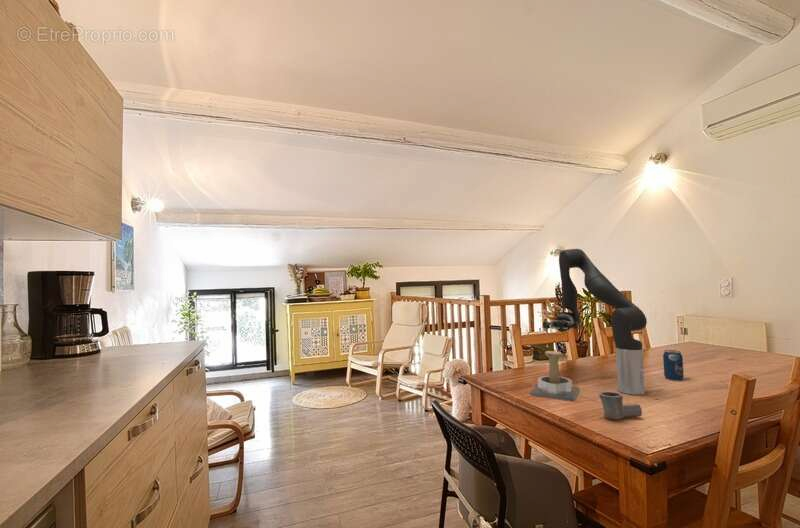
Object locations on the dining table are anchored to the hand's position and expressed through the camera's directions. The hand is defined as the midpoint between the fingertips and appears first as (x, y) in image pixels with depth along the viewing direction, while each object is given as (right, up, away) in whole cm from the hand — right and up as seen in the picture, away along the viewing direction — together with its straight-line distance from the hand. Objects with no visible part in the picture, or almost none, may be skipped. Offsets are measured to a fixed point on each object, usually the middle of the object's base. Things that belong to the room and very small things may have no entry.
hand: (557, 326), depth 163 cm
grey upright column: (-6, -24, -11) cm, 27 cm away
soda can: (+52, -24, +3) cm, 57 cm away
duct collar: (-6, -25, -11) cm, 28 cm away
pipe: (+4, -24, -39) cm, 46 cm away
